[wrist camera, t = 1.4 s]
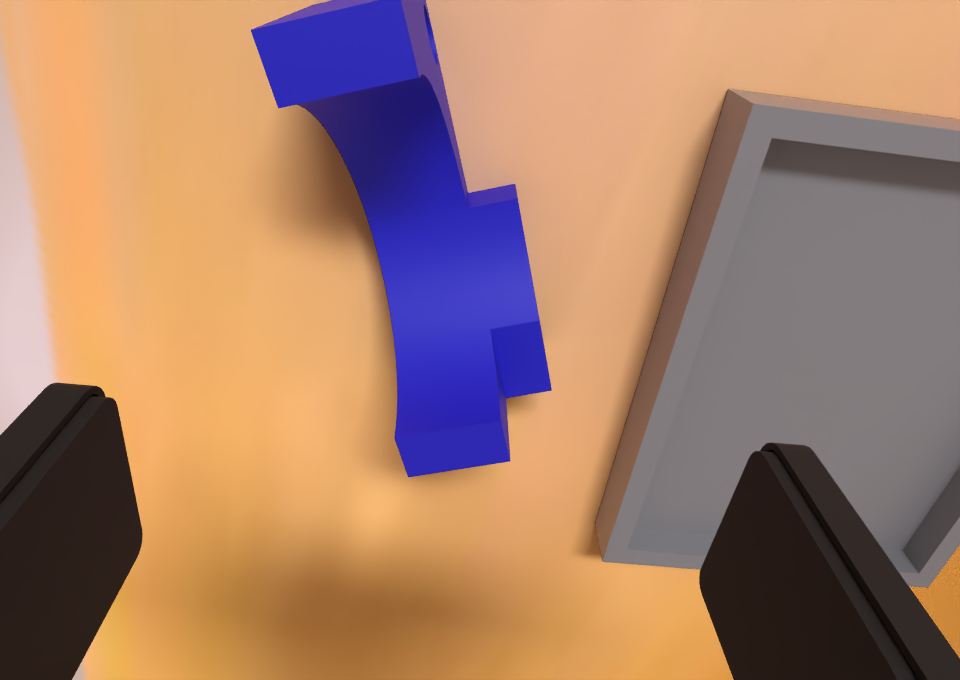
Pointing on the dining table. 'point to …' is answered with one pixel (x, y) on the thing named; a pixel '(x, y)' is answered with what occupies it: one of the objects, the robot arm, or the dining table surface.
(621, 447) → the shallow rectangular tray
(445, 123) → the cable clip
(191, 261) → the dining table surface
